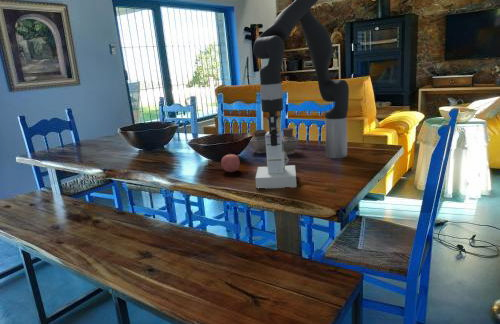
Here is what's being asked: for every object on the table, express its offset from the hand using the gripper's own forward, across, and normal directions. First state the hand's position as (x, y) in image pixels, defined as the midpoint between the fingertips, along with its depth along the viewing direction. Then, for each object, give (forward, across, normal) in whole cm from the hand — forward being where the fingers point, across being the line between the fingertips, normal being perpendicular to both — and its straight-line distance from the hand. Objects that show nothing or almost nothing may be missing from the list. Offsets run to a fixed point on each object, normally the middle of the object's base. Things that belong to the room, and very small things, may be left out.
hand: (274, 143), depth 131 cm
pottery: (+15, -46, -2) cm, 48 cm away
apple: (+15, -16, -19) cm, 29 cm away
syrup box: (+11, 0, 0) cm, 11 cm away
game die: (+15, -17, +1) cm, 23 cm away
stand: (+14, 0, 0) cm, 15 cm away
